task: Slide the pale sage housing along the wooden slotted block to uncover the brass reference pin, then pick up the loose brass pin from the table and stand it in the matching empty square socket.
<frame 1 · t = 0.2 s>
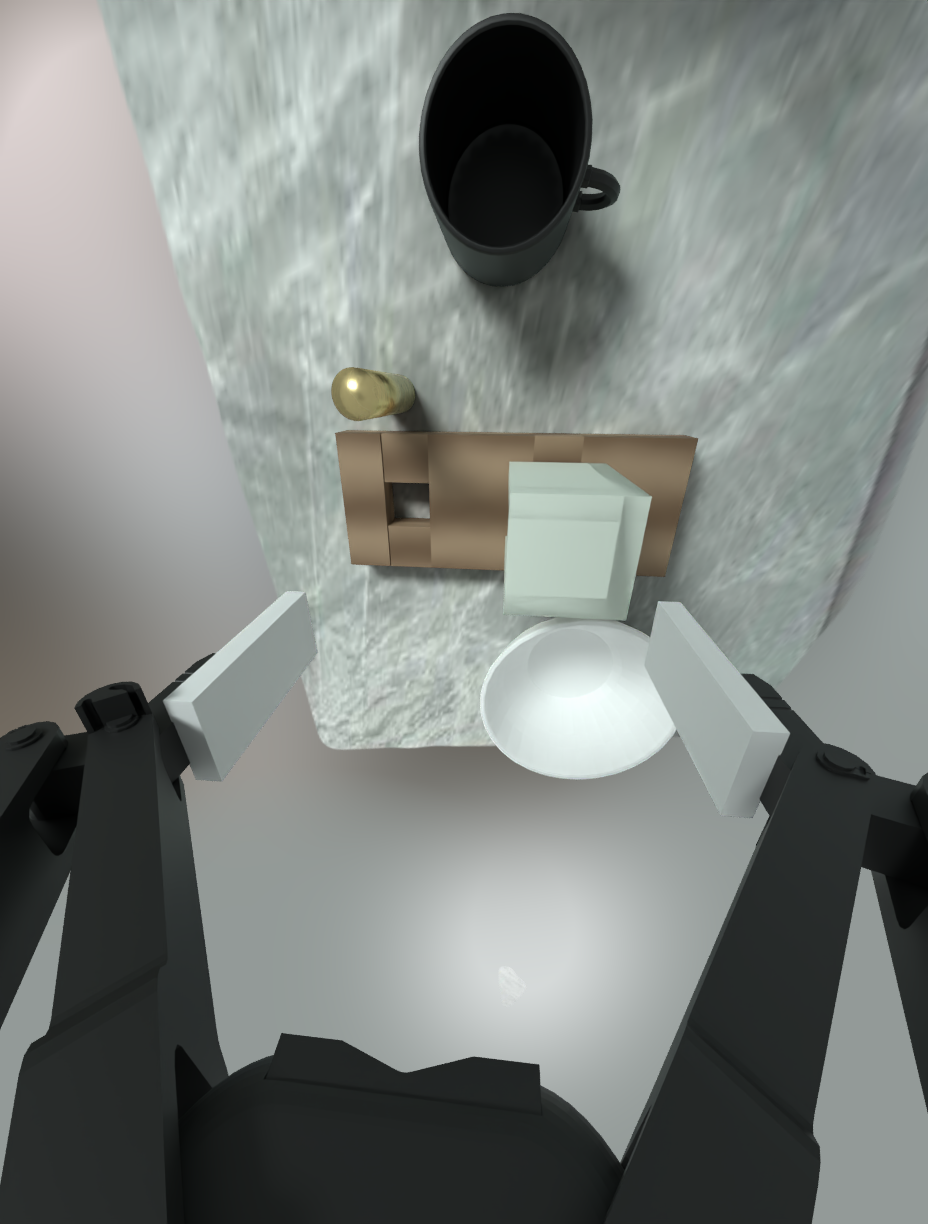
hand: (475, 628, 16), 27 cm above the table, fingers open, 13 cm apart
housing: (560, 530, 32), point 10 cm above the table, slide at 0.0 cm
pin: (398, 394, 37), on the table
wooden slotted block: (507, 500, 41), on the table
mug: (522, 211, 31), on the table
bowl: (568, 660, 49), on the table
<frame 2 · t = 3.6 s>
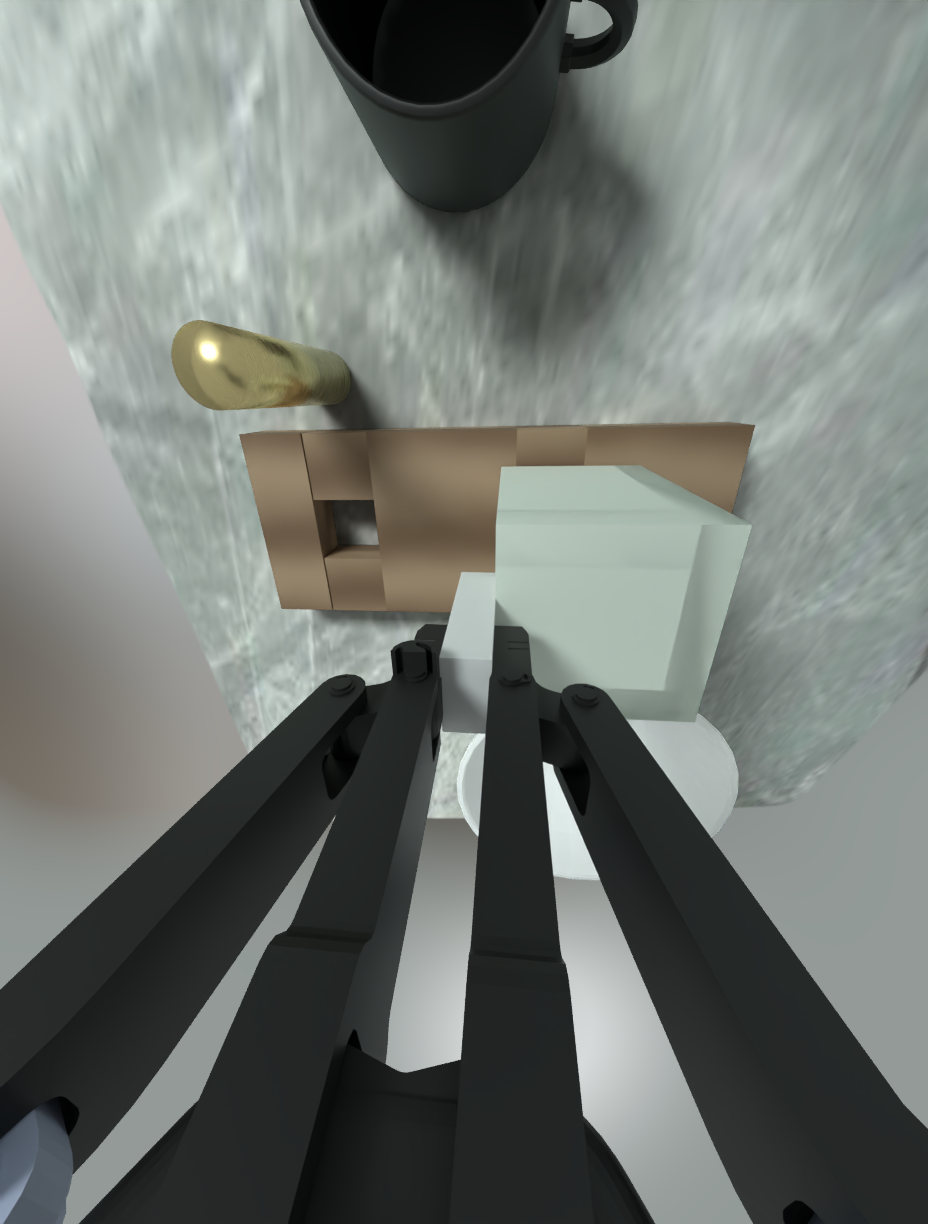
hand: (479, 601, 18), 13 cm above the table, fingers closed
housing: (578, 569, 21), point 10 cm above the table, slide at 1.1 cm, touching gripper
pin: (327, 378, 27), on the table
wooden slotted block: (485, 518, 30), on the table
mug: (485, 93, 21), on the table
bowl: (575, 718, 38), on the table
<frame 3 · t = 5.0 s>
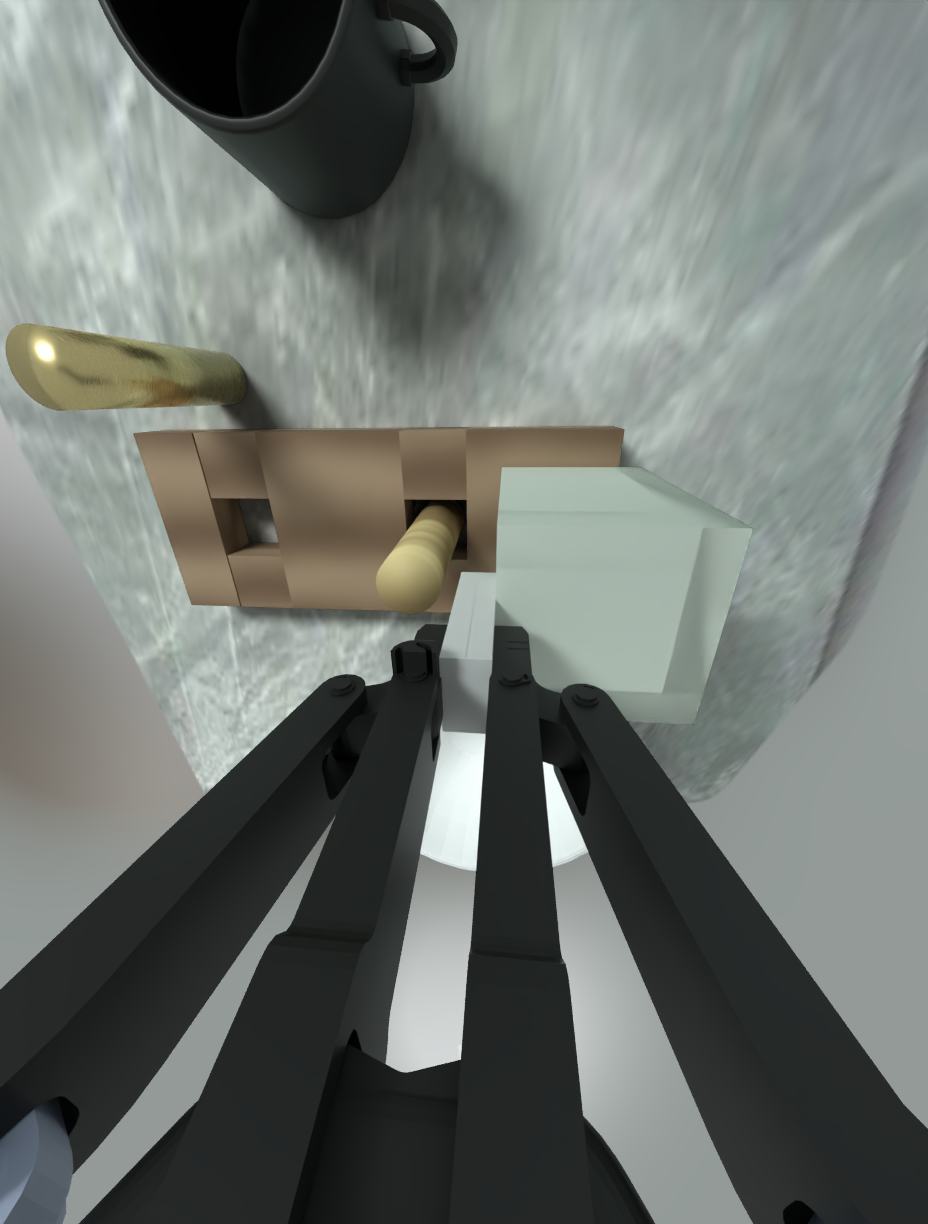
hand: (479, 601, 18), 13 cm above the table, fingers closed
housing: (578, 570, 21), point 10 cm above the table, slide at 8.2 cm, touching gripper
pin: (223, 379, 27), on the table
wooden slotted block: (388, 518, 31), on the table
mug: (349, 103, 21), on the table
bowl: (494, 715, 38), on the table
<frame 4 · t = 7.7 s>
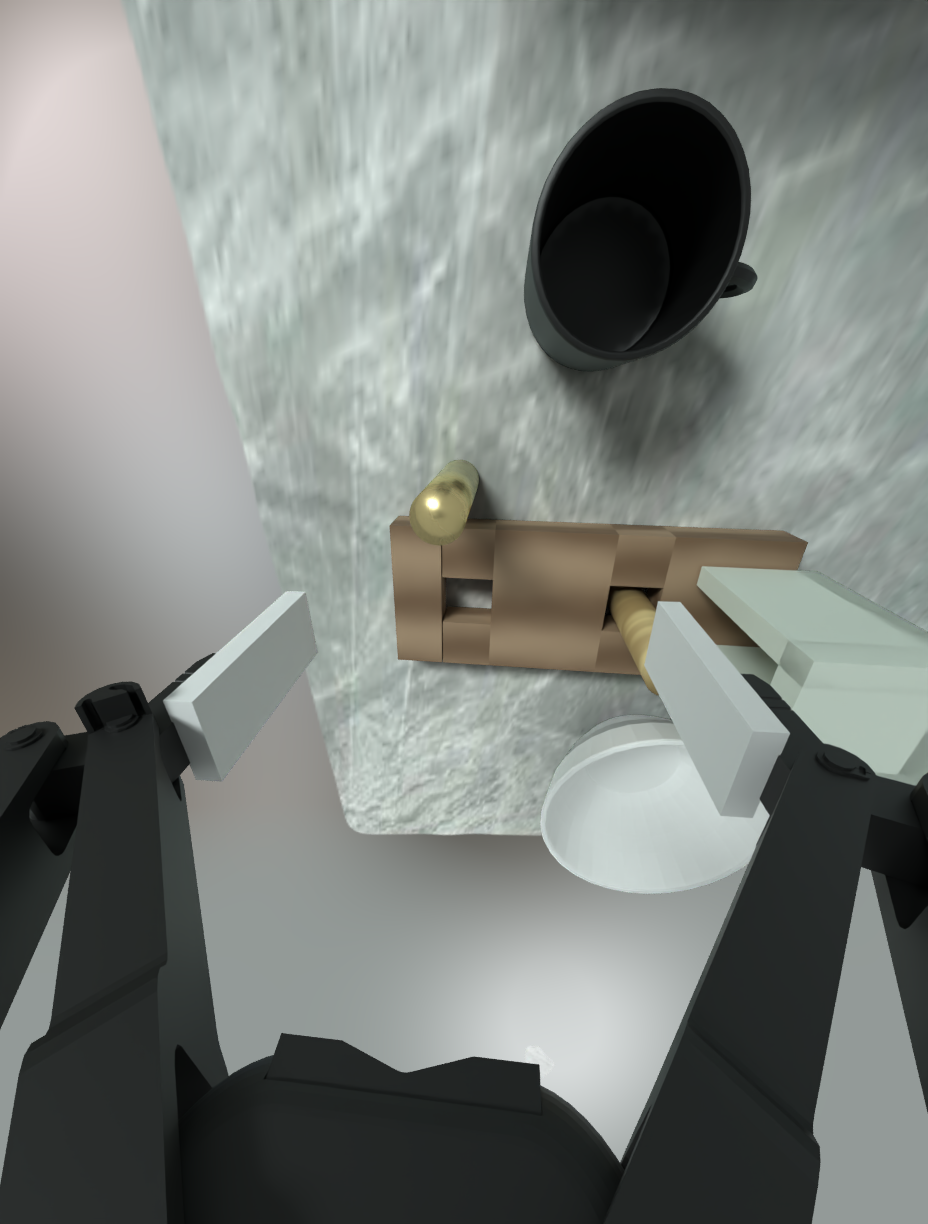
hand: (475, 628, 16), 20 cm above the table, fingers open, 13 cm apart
housing: (791, 663, 27), point 10 cm above the table, slide at 8.2 cm
pin: (459, 480, 33), on the table
wooden slotted block: (574, 592, 36), on the table
mug: (617, 290, 27), on the table
bowl: (629, 753, 44), on the table
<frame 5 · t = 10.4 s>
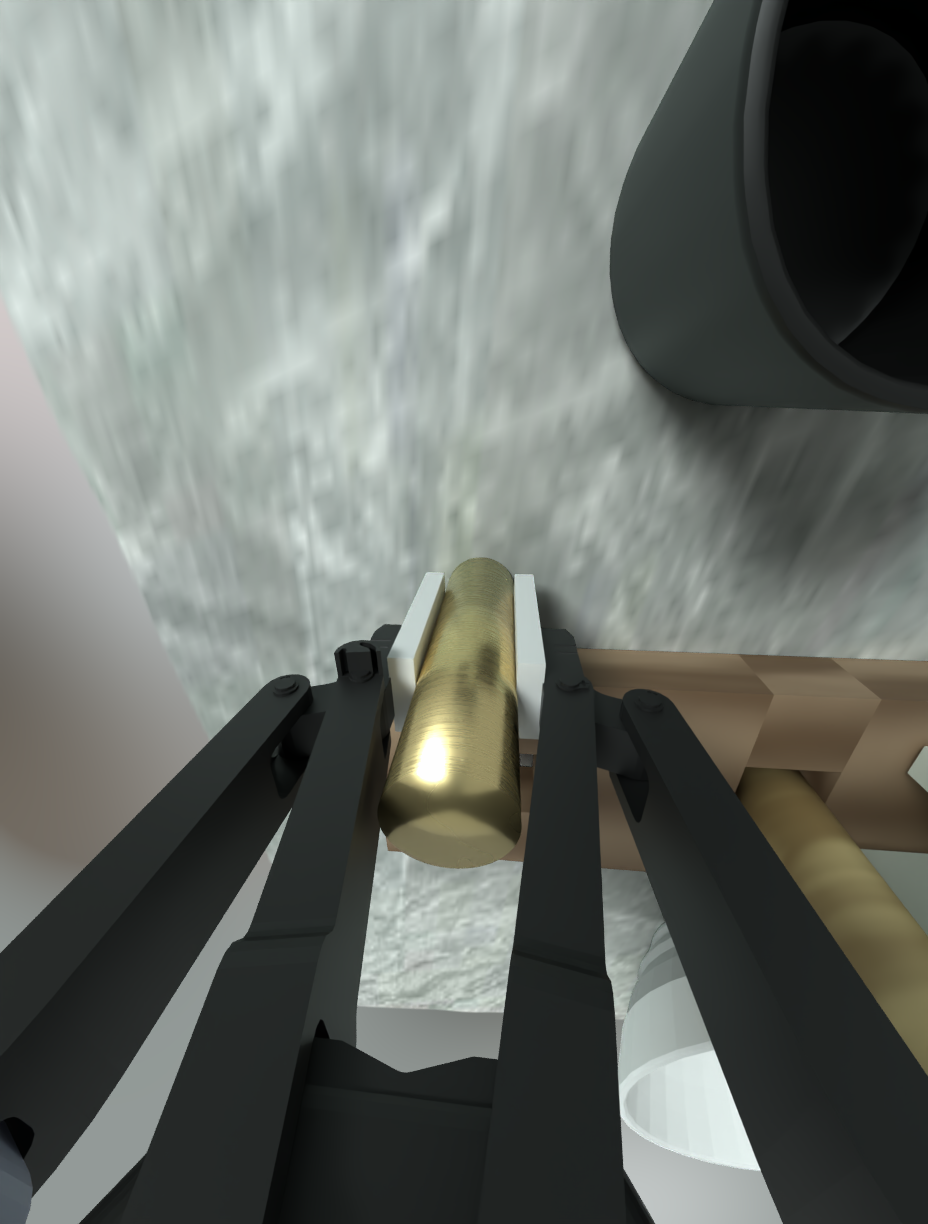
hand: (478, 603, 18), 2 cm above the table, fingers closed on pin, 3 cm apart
pin: (481, 588, 19), on the table, touching gripper
wooden slotted block: (667, 748, 23), on the table
mug: (801, 243, 13), on the table
bowl: (730, 939, 30), on the table
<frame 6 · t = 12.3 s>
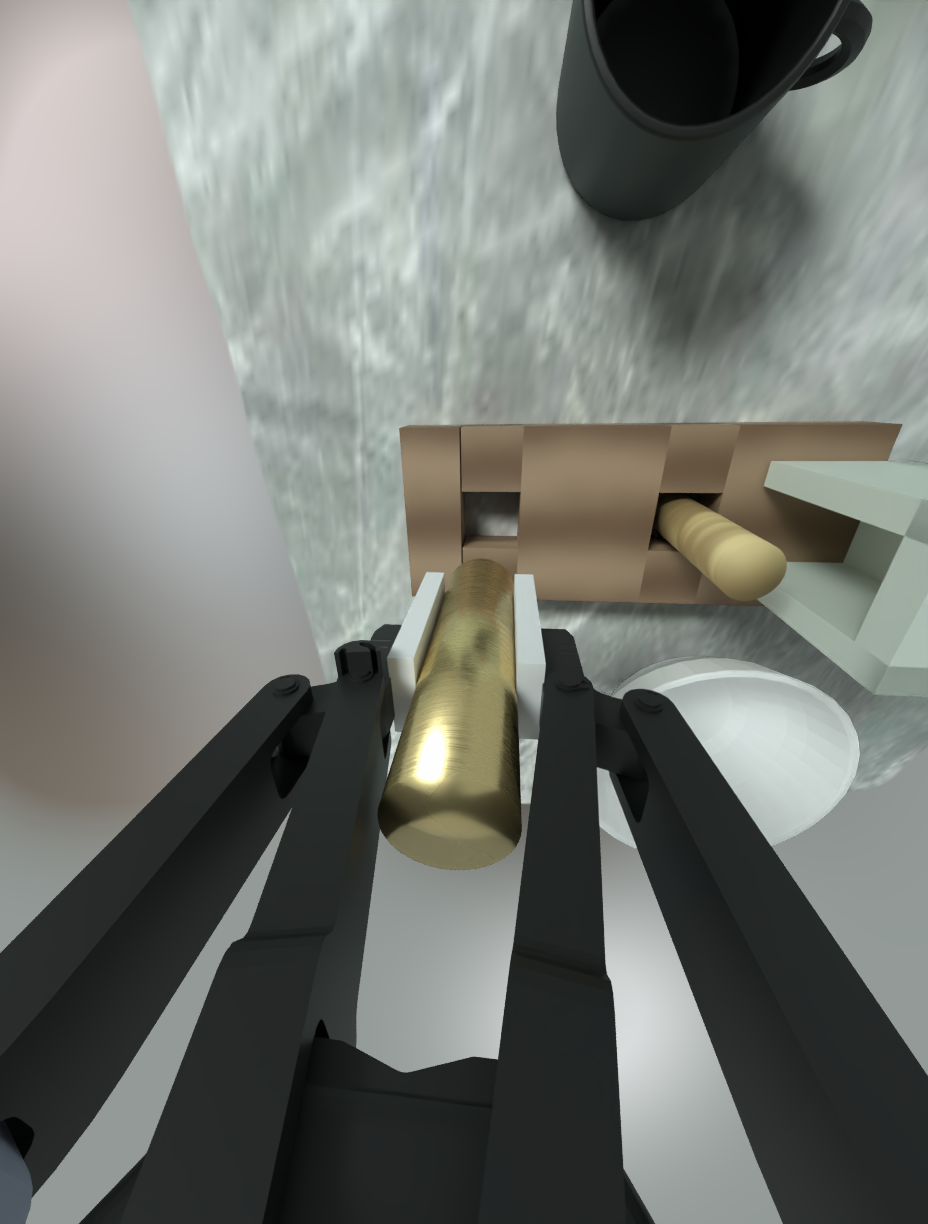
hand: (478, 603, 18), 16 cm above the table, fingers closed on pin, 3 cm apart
housing: (896, 559, 22), point 10 cm above the table, slide at 8.2 cm
pin: (481, 589, 19), point 15 cm above the table, touching gripper
wooden slotted block: (613, 511, 32), on the table
mug: (671, 109, 22), on the table
bowl: (672, 705, 39), on the table
when the fingers open (4 cm above the table, at t = 14.6 s): pin drops 1 cm, resting in wooden slotted block.
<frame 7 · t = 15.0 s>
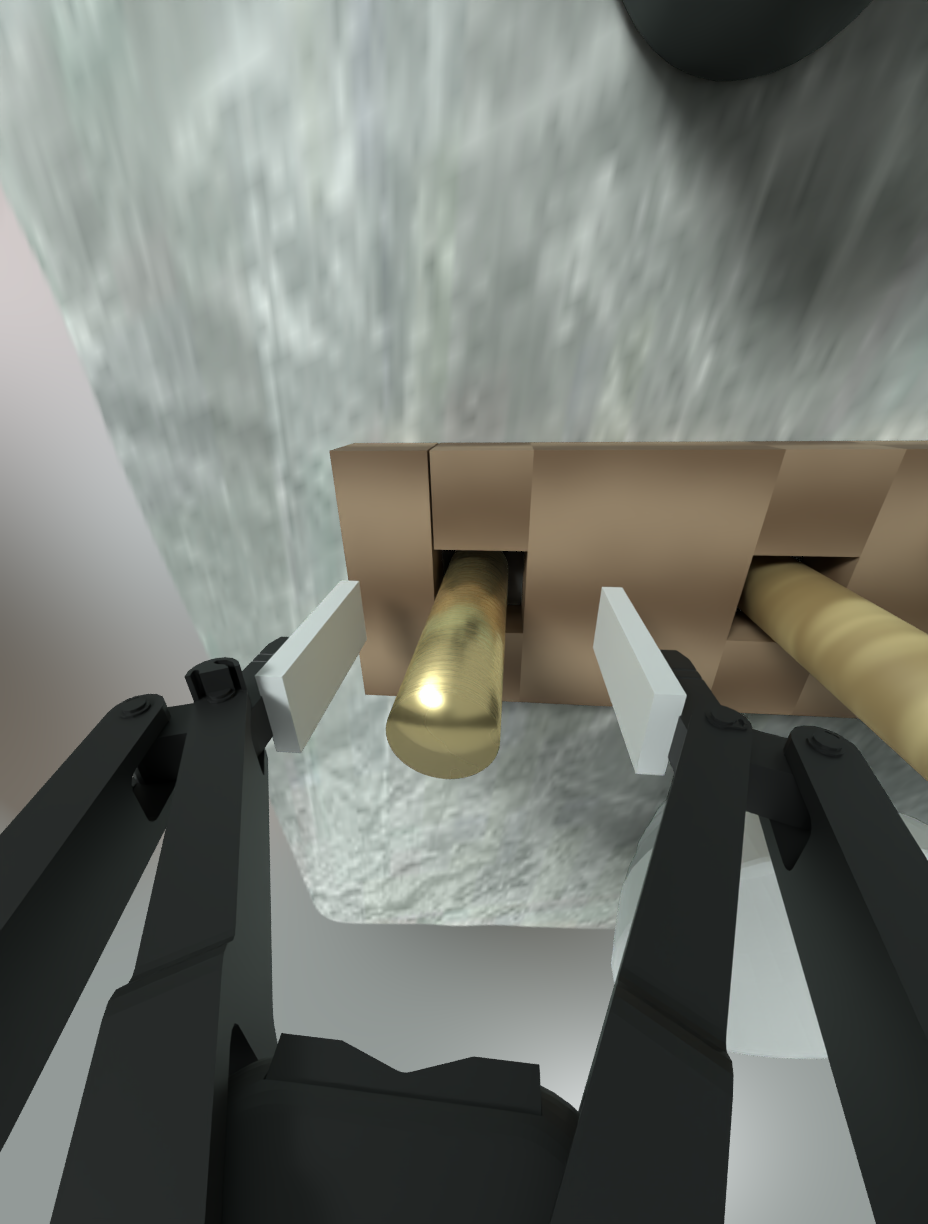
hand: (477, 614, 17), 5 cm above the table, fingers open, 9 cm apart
pin: (478, 569, 22), resting in wooden slotted block
wooden slotted block: (666, 572, 21), on the table
bowl: (734, 823, 29), on the table
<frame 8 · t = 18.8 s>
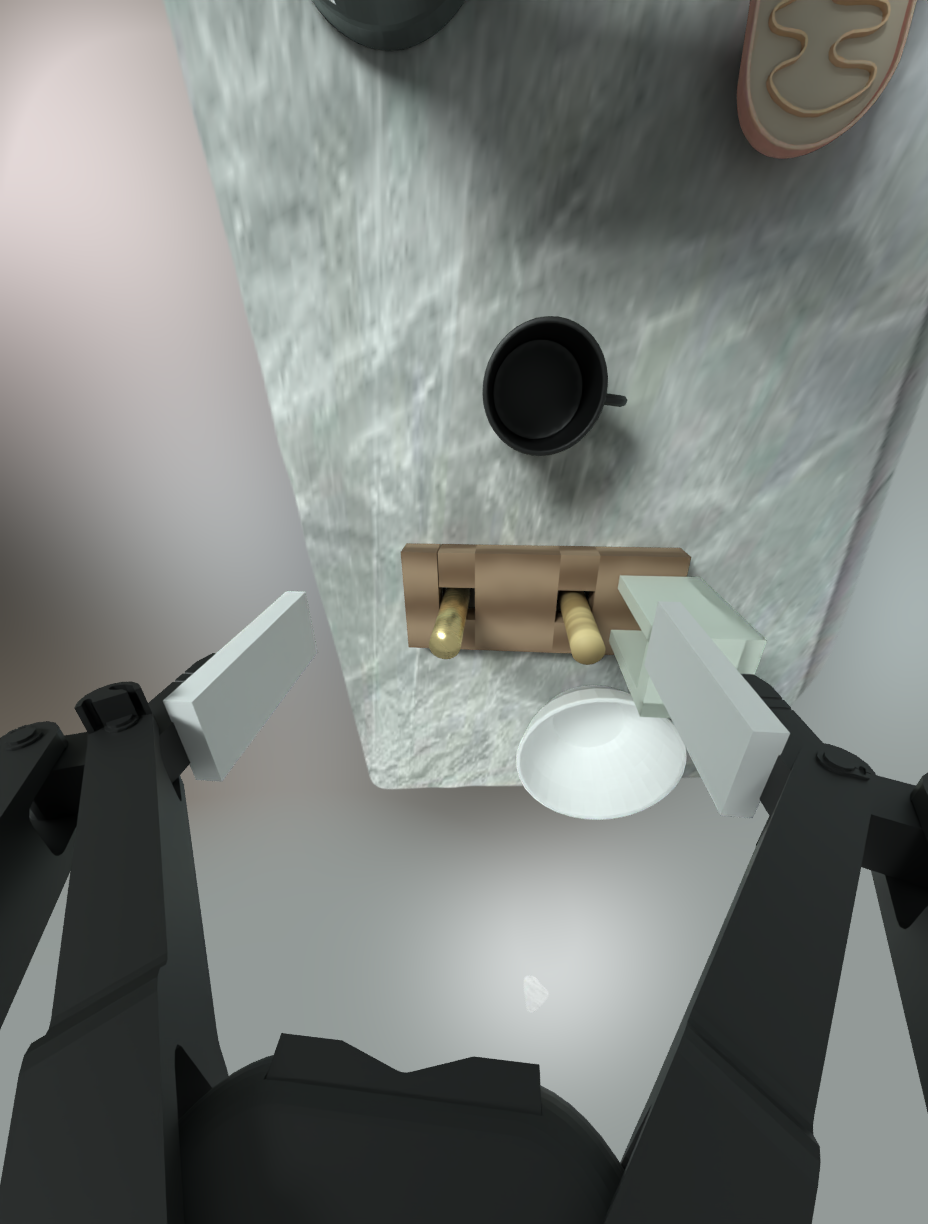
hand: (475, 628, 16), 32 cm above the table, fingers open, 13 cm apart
housing: (672, 640, 40), point 10 cm above the table, slide at 8.2 cm
pin: (457, 592, 51), resting in wooden slotted block
wooden slotted block: (536, 594, 50), on the table
mug: (550, 393, 40), on the table
bowl: (587, 716, 57), on the table
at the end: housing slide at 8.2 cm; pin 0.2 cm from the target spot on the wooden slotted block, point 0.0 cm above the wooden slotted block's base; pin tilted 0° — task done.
